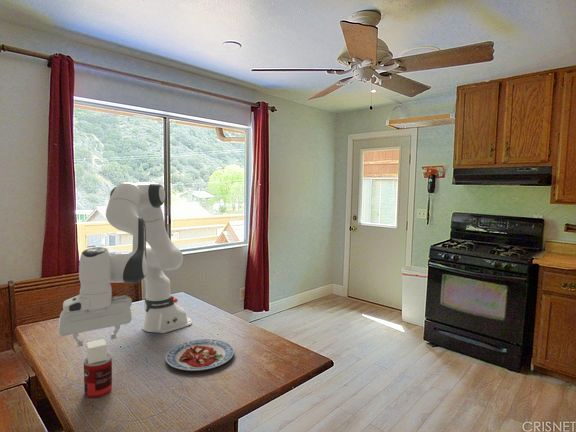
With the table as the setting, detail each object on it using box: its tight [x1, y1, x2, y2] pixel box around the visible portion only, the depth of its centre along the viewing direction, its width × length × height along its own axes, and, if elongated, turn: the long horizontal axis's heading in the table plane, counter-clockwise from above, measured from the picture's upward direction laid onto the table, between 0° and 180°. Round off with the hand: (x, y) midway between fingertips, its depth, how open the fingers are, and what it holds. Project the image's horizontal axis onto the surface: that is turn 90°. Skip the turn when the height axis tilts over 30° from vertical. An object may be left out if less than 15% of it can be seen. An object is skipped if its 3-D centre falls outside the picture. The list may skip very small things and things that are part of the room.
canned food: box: [83, 353, 113, 399], centre depth 111 cm, size 8×8×11 cm
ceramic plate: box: [165, 338, 235, 372], centre depth 135 cm, size 26×26×3 cm
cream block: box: [86, 338, 108, 364], centre depth 110 cm, size 5×5×5 cm
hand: (97, 342), depth 110 cm, fingers open, 8 cm apart
